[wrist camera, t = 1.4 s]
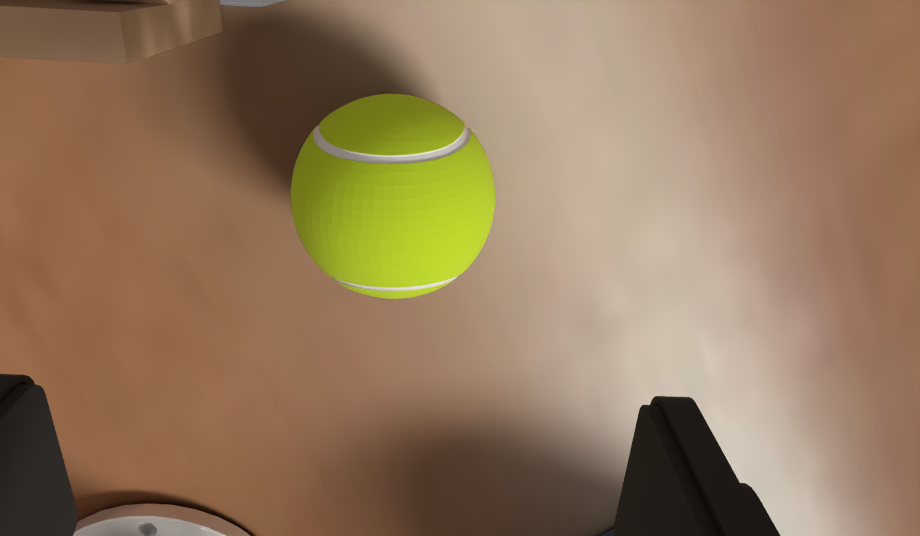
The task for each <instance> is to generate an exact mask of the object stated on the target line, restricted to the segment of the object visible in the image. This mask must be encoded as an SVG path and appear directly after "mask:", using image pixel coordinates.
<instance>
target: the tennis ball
mask: <svg viewBox="0 0 920 536" xmlns="http://www.w3.org/2000/svg"><path fill="white" fill-rule="evenodd" d="M291 208H292V214H293V219H294V223H295V226H296V230H297V232H298V235H299V237H300V239H301V241H302V243H303V245H304V247H305V249H306V250H307V252H308V254H309V255H310V256H311V258H312V259H313V260H314V262H315V263H316V264H317V265H318V266H319V267H320V269H321V270H323V271H324V272H325V273H326V274H327V275H329V276H330V277H331V278H332V279H333V280H335V281H336V282H338V283H339V284H341V285H342V286H344V287H346V288H348V289H351V290H353V291H356V292H358V293H361V294H365V295H369V296H373V297H379V298H390V299H398V298H409V297H415V296H419V295H423V294H427V293H429V292H432V291H434V290H437V289H439V288H441V287H443V286H445V285H447V284H448V283H450V282H451V281H453V280H454V279H455V278H457V277H458V275H460V274H461V273H463V272H464V271H465V270H466V269H467V268H468V267H469V265H470V264H471V263H472V262H473V261H474V259H475V258H476V256H477V255H478V254H479V252H480V250H481V248H482V247H483V245H484V243H485V241H486V238H487V236H488V233H489V231H490V227H491V224H492V220H493V215H494V208H495V187H494V179H493V174H492V170H491V166H490V163H489V160H488V158H487V156H486V153H485V151H484V149H483V147H482V145H481V143H480V142H479V140H478V139H477V137H476V136H475V134H474V133H473V132H472V130H471V129H470V128H467V127H466V126H465V123H464V122H463V121H462V120H461V119H460V118H459V117H457V116H456V115H455V114H453V113H452V112H450V111H449V110H447V109H446V108H444V107H442V106H440V105H438V104H436V103H434V102H431V101H429V100H426V99H423V98H420V97H416V96H411V95H404V94H380V95H373V96H368V97H364V98H361V99H357V100H355V101H352V102H350V103H348V104H346V105H343V106H342V107H340V108H338V109H337V110H335V111H333V112H332V113H330V114H329V115H328V116H326V117H325V118H324V119H323V120H322V121H321V122H320V124H319V125H318V126H316V127H315V128H314V129H313V131H312V132H311V133H310V135H309V136H308V138H307V139H306V141H305V143H304V145H303V146H302V148H301V150H300V152H299V155H298V158H297V160H296V163H295V166H294V171H293V175H292V182H291Z"/></svg>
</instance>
